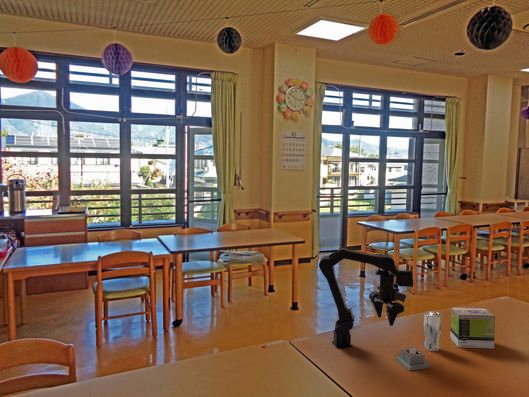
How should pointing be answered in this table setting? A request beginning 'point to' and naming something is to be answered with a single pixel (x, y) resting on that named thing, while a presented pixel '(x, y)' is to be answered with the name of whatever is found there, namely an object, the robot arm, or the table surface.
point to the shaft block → (412, 367)
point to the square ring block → (412, 357)
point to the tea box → (472, 327)
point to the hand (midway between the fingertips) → (385, 321)
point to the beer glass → (432, 330)
